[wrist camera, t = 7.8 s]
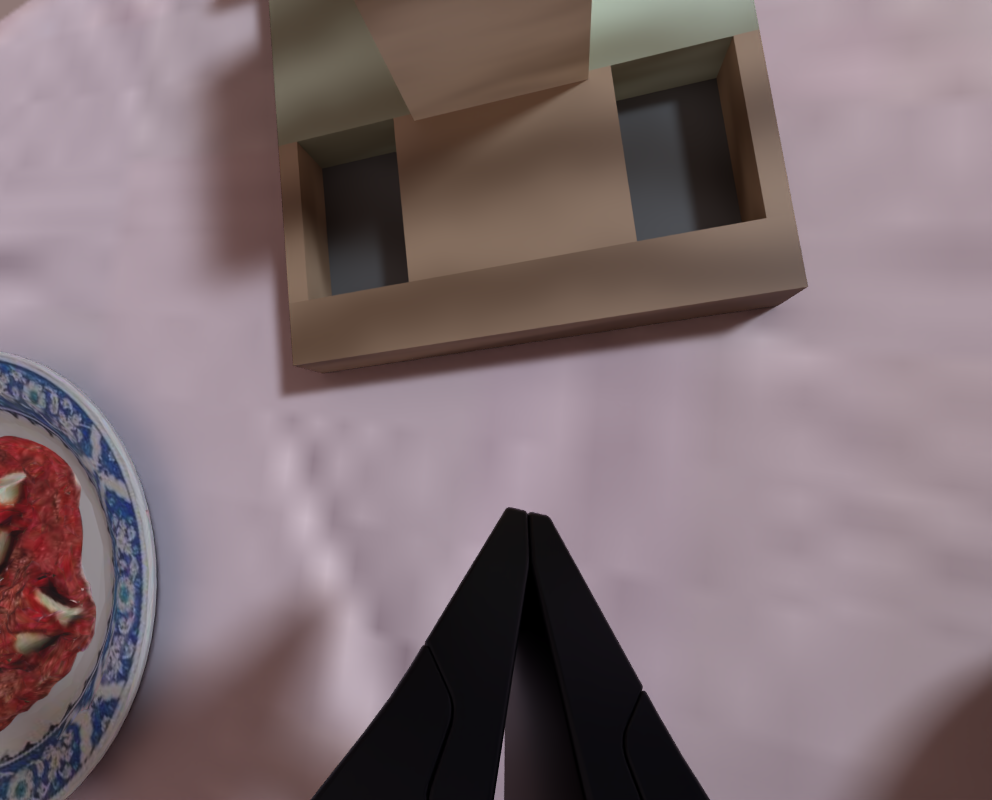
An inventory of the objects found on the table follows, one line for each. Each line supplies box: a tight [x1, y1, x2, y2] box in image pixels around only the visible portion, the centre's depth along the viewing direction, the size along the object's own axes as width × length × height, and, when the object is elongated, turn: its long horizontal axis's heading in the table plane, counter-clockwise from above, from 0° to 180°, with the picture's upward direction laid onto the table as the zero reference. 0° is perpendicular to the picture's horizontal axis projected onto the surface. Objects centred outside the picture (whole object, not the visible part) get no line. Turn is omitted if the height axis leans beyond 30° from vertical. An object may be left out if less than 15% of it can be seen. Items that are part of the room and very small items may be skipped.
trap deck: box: [269, 0, 808, 373], centre depth 20 cm, size 25×22×6 cm
